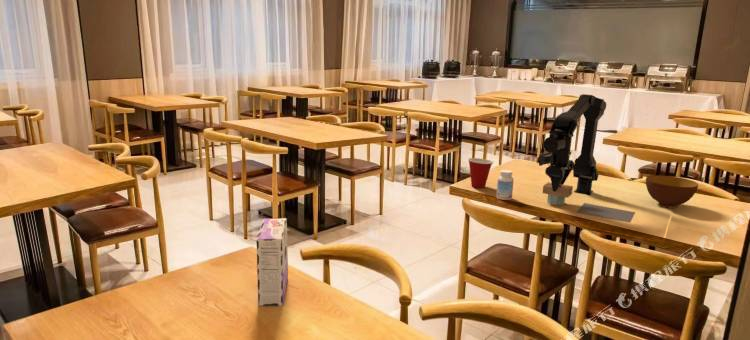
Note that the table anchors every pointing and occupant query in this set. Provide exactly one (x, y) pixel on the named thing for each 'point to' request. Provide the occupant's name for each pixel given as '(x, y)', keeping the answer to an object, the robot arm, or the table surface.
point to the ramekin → (555, 200)
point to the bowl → (670, 190)
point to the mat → (606, 212)
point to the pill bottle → (505, 185)
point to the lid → (558, 190)
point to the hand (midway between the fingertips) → (557, 188)
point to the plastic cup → (479, 171)
